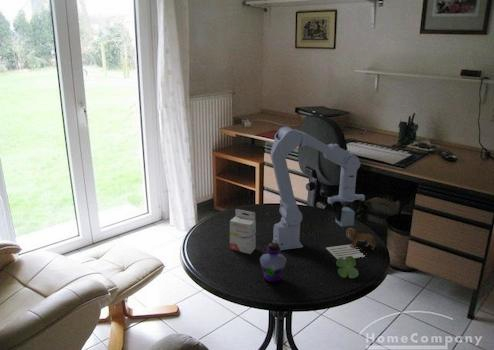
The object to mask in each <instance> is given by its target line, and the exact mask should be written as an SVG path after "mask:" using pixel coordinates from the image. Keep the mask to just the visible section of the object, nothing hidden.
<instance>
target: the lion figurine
mask: <svg viewBox="0 0 494 350" xmlns="http://www.w3.org/2000/svg"><path fill="white" fill-rule="evenodd" d="M345 231H346V232H345V236H346V238H348V239H349V241H352V243H351V245H354V246H353V247H354V248H355V247H356V245H357V243H358V242H367V244H365V245H364V246H365V247H368V246H369V245H370V246H371V248H370V249H372V251H374V250H375V248H378V245H376V242H375V237H374V236H373V235H372V234H370V233H361V232H360V231H359V230H357V229H355V228H353V227H348V228H346V230H345Z"/></svg>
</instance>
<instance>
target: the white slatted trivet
mask: <svg viewBox="0 0 494 350" xmlns="http://www.w3.org/2000/svg"><path fill="white" fill-rule="evenodd" d="M351 244H352V243H351ZM351 244H344V245H337V246H336V245H335V246H329V247H325V249H326V250H327V251H328V252H329V253H330V254H331V255H332V256H333V257H334V258H335V259H336V260H337V259H338V258H343V259H345V260H346V257H347V256H352V257H353V258H354V259H359V258H360V257H361V258H366V257H365V255H363V253H361V252H360V251H359V250H360V249H361V248H360V249H356V248H358V247H359V246H358V247H355V248H354V247H353V246H354V245H351Z"/></svg>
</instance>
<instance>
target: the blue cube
mask: <svg viewBox="0 0 494 350" xmlns="http://www.w3.org/2000/svg"><path fill="white" fill-rule="evenodd" d="M354 215H355V216H356V214H355V211H353V210H352V209H350V207H348V206H347V207H346V206H343V208H342V212H341V220H340V221H338V220H336V219H335V223H336V224H337V225H339V226H340V227H342V228H343V227H350V226H351V227H352V226H354V225H355V216H354Z"/></svg>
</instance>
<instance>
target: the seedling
mask: <svg viewBox="0 0 494 350" xmlns="http://www.w3.org/2000/svg"><path fill="white" fill-rule="evenodd" d="M356 261H357V260H356V258H353V257H352V256H347V257H346V260H345V259H343V258H338V259H336V262H335V263H336V266H337V267H338V269H337V274H338V275H339V276H340V277H341V278H347V277H349V278H350V279H355V278H357V277H358V276H359V274H360V273H359V270H358V269H357V268H356V265H357V262H356Z"/></svg>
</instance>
